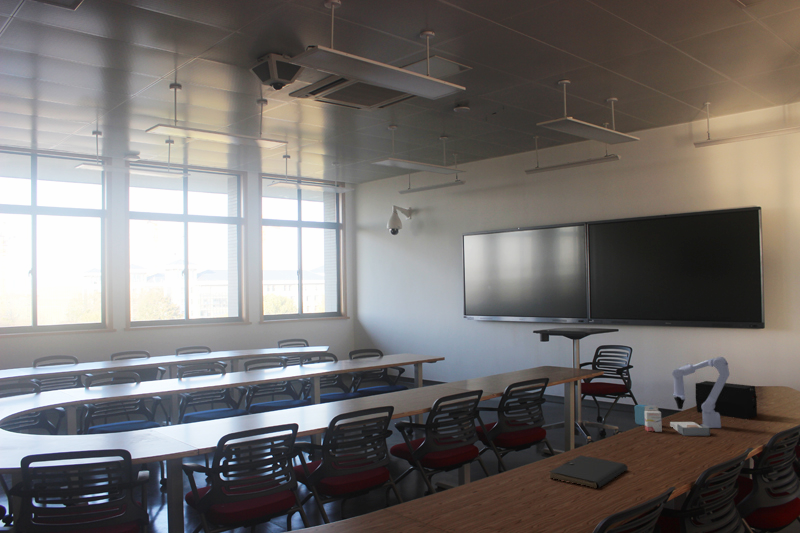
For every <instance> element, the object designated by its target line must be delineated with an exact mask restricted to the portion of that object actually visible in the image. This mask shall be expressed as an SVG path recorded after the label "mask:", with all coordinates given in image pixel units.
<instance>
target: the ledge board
mask: <svg viewBox="0 0 800 533" xmlns="http://www.w3.org/2000/svg"><path fill="white" fill-rule="evenodd" d="M677 424H679V425H680V426H682V427H683V428H687V425H697V426H698V427H699V428H703V426H701V425H699V424H698V423H697V422H694V421H670V422H669V426H670V427H671V428H672V427H673V428H672V429H674V430H675V431H677V432H678V428H677Z"/></svg>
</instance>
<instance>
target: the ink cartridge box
mask: <svg viewBox="0 0 800 533" xmlns="http://www.w3.org/2000/svg"><path fill="white" fill-rule="evenodd" d="M651 407H652V408H654V409H649V408H651ZM644 414H645V425H644V430H645V431H647V432H648V431H652V433H655V432H661V433H662V432H663V431H662V429H663V427H662V412H661V411H660V410H659V406H658V405H648V406H645V411H644ZM653 431H655V432H653Z"/></svg>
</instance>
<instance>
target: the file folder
mask: <svg viewBox="0 0 800 533" xmlns="http://www.w3.org/2000/svg"><path fill="white" fill-rule="evenodd" d="M628 470H629V469H628V465H627V464H625V463H622V462H617V461H612V460H607V459H602V458H597V457H592V456H586V455H578V456H576V457H574V458H573V459H571V460H569V461H566V462H565V463H562V464H561V465H559V466H558V467H556V468H554V469H552V470H550V471H549V479H550V478H554V479H558V480H557V481H559V480H564V481H569V482H573V483H578V484H582V485H586V486H585V487H587V486H591V487H594V488H593V489H596V488H597V489H598V488H599V489H600V488H602V487H603V486H605V485H607V484H608V483H610V481H612V480H614V479H616V478H617V477H618V475H619V476H620V475H621V473H622V474H623V473H624V471H625V472H626V471H628ZM615 477H616V478H615ZM554 479H553V480H554ZM582 485H581V486H582ZM597 486H598V487H597ZM601 486H602V487H601ZM591 487H590V488H591Z"/></svg>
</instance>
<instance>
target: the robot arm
mask: <svg viewBox="0 0 800 533" xmlns="http://www.w3.org/2000/svg"><path fill="white" fill-rule="evenodd" d="M705 367H714V368H715V369H716V370H717V371H718V373H719V375H718V377H717V379H716V381H715V382H716V383H715V385H714V387H713V389H712V391H711V393H710V395H709V396H708V398H707V400H706V401H705V402H704V403H703V404H702V406H701V408H702V410H703V411H702V413H701V417H702V423H701V424H700V426H701V427H703V424H704V425H706V426H708V427H709V428H710V429H721V428H722V424H721V416H720V414H719V413H718V412H715V411H714V410H713V409H714V408H715V402H716V400H717V398H718V396H719V394H720V392H721V390H722V388H723V386H724V384H725V383H727V380H728V379H729V377H730V368H729V363H728V361H727V360H726V358H724V357H723V356H717V357H713V358H708V359H706V360H703V361H700V362H699V363H695V364H692V363H687V364H685V365H683V366H679V367H678V368H675V369H673V370H672V373H671V374H672V376H673V394H672V396H675V397H673V398H674V400H675V403H676V406H677V409H678V410H682V409H683V407H684V404H685V401H686V395H685V384H684V383H685V382H684V377H685V376H688V375H692V374H694V373H696V371H697V370H699V369H703V368H705Z"/></svg>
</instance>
